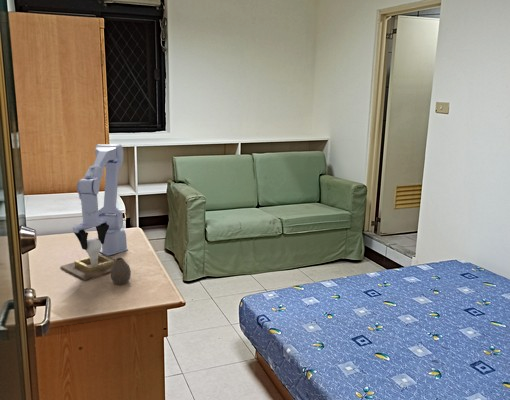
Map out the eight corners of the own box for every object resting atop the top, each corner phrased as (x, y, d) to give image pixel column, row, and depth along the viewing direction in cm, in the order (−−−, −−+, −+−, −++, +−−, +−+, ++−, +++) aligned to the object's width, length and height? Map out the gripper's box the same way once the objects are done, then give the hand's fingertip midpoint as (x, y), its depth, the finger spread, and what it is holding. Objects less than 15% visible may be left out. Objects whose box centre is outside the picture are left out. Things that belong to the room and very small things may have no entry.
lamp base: (103, 255, 198) (103, 253, 198) (129, 267, 187) (128, 265, 187) (60, 268, 185) (60, 266, 185) (85, 281, 174) (85, 279, 174)
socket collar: (99, 258, 193) (99, 253, 193) (114, 265, 186) (114, 260, 186) (74, 266, 186) (74, 261, 185) (89, 273, 179) (88, 268, 178)
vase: (109, 280, 175) (107, 256, 173) (129, 277, 177) (127, 254, 175) (112, 287, 169) (110, 263, 166) (132, 284, 171) (131, 260, 169)
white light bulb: (99, 269, 183) (96, 240, 180) (83, 268, 183) (80, 240, 180) (105, 263, 189) (103, 235, 186) (90, 262, 189) (87, 235, 186)
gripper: (99, 205, 189) (101, 239, 192) (66, 213, 177) (69, 249, 180) (111, 208, 185) (114, 242, 188) (78, 216, 173) (82, 253, 177)
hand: (93, 246), depth 184 cm, fingers open, 7 cm apart
